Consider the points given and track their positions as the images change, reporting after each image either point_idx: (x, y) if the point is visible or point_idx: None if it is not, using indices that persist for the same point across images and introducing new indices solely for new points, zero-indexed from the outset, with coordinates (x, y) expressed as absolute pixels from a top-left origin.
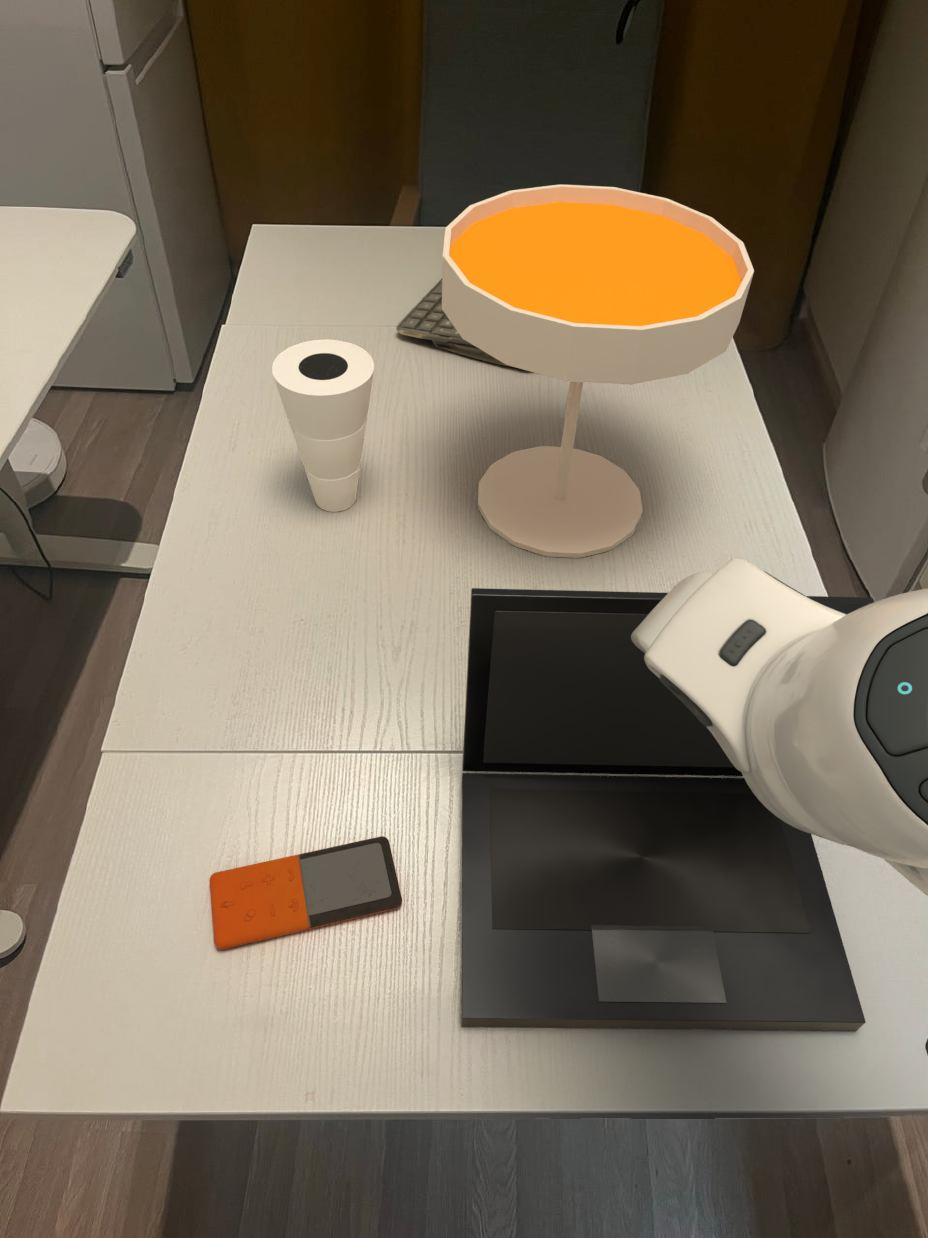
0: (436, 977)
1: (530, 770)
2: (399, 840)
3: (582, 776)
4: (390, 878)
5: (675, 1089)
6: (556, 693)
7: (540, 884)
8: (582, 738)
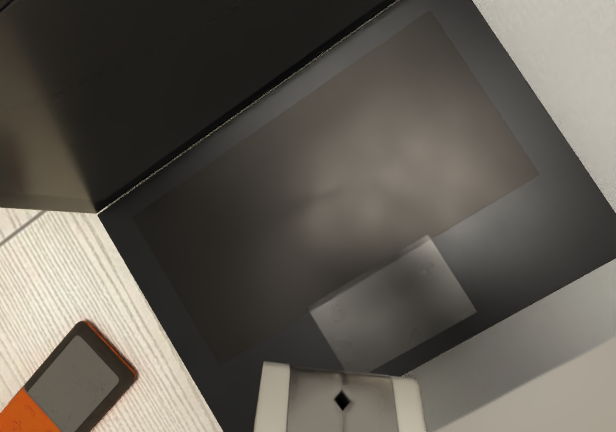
0: (205, 419)
1: (156, 168)
2: (97, 310)
3: (211, 136)
4: (108, 363)
5: (462, 402)
6: (72, 134)
7: (237, 293)
8: (167, 125)
